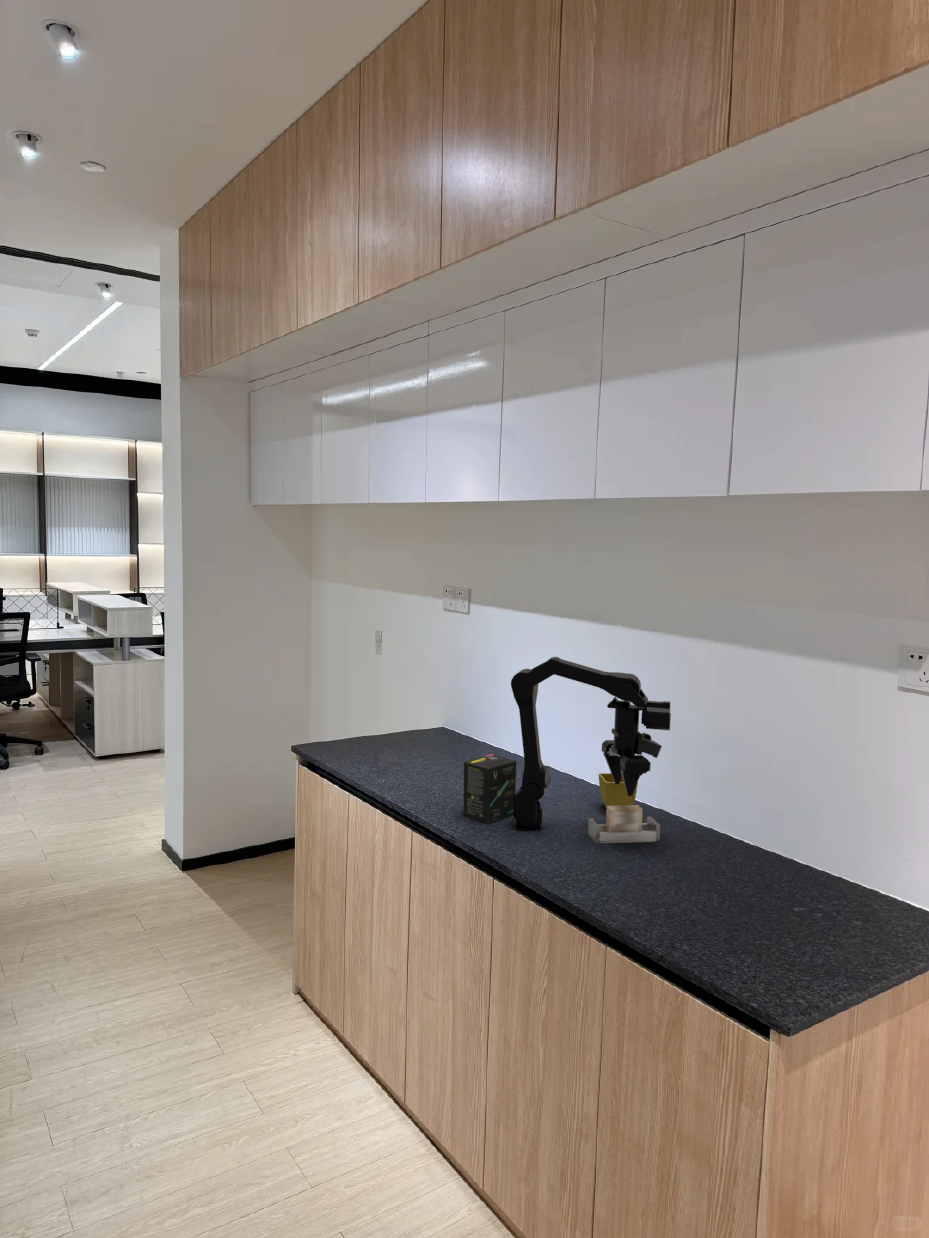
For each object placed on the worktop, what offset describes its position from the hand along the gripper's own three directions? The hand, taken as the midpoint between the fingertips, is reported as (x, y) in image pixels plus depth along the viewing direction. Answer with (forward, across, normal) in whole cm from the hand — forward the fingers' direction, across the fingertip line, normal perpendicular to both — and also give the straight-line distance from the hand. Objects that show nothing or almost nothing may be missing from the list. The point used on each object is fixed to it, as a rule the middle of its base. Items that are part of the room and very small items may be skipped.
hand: (623, 789), depth 202 cm
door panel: (+11, 0, 0) cm, 11 cm away
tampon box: (+12, +18, +30) cm, 37 cm away
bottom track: (+12, 0, 0) cm, 12 cm away
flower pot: (+12, +20, -5) cm, 24 cm away
